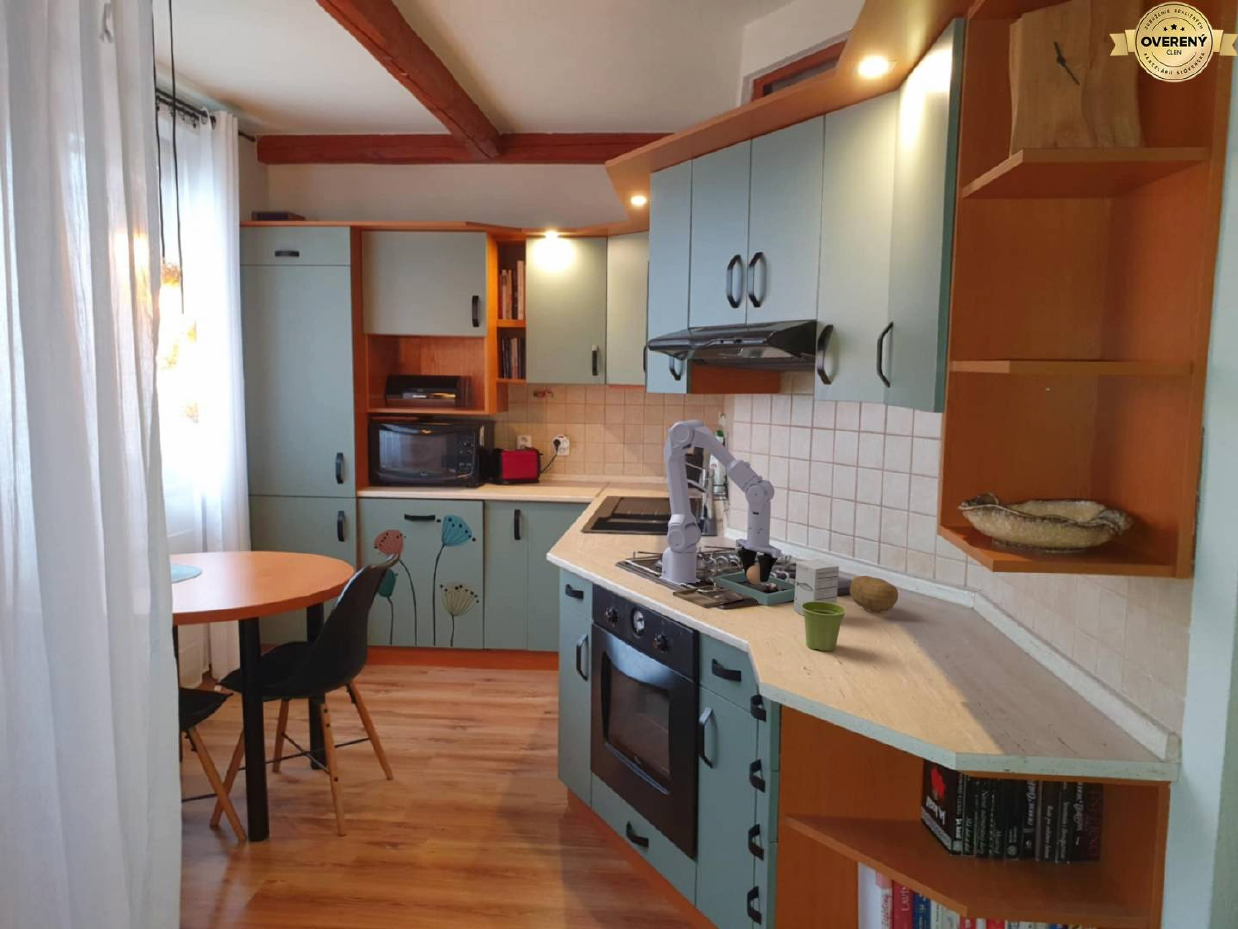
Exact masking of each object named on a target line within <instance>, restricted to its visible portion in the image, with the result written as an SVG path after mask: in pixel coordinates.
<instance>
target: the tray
mask: <svg viewBox="0 0 1238 929" xmlns="http://www.w3.org/2000/svg"><path fill="white" fill-rule="evenodd" d="M712 580H713V581H712V584H713V583H716V584H717V585H719V586H720V587H723V588H724V589H730V590H733V591H735V592H737V593H740V594H742V595H747V596H750V597H753V598H754V599H756V600H757V601H758V603H757V604H760V605H763V606H767V607H769V606H773V605H778V604H782V603H788V602H792V601H794V598H795V582H794V583H793V582H790V581H788V580H785V579H781V578H779V577H776V576H772V575H770V576H769V579H768V581H767V582H762V583H767V584H769V583H774V584H776V585H779V586H780V587H782V588H783V589H787V590H784V591H776V592H771V593H766V592H763V591H760V590H758V589H754V588H752V587H748V586H745V585H743V584H740V583H738V582H741V583H744V582H743V581H746V582H749V581H748V579H747V577H745V572H744V570H743V571H738V572H732V573H727V574H722V575H721V574H720V575H717V576H713V577H712Z"/></svg>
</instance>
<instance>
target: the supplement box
mask: <svg viewBox="0 0 1238 929" xmlns="http://www.w3.org/2000/svg"><path fill="white" fill-rule="evenodd" d="M795 563H796V568H795V582H794V584H795V598H794V600H793V611H794V612H795V613H798V614H799V615H802V616H804V615H803V610H802V608H801V604H803V603H805V602H809V601H823V602H830V603H835V604H837V600H838V587H839V586H838V585H839V571H840V566H838V565H836V564H833V563H830V562H828V561H824V560H821V559H818V558H816V559H808V560H802V561H801V560H800V561H796V562H795Z"/></svg>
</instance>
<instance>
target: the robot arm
mask: <svg viewBox="0 0 1238 929" xmlns="http://www.w3.org/2000/svg"><path fill="white" fill-rule="evenodd" d="M667 433H668V436H667V439H666V442H665V445H664V448H663V458H664V466H665V473H666V481H667V490H668V497H669V499H668V500H669V505H670V510H671V511H670V513H671V516H670V520H668V524H667V527H668V530H667V534H666V543H667V545H668V547H666V549H664V550H663V553H662V558H661V561H662V563H661V576H659V579H660V580H665V581H666V582H670V583H672V584H675V585H677V586H680V587H681V584H680V583H693V584H697V583H696V582H699V583H701V582H700V581H701V580H702V579H700V578H697V554H698V547H697V545H698V543H699V542H700V540H701V538H702V532H701V529H700V527H699V526H698V524H697V518H696V517H695V516H694V514H693V513H692V507H691V506H692V505H691V499H690V492H689V484H688V478H687V476H688V475H687V470H686V468H687V467H686V461H685V455H686V454H687V453H689V451H690V449H691V448H692V447H693V448H694V447H696V448H701V449H704V450H706V452H708V453H710V455H711V456H712V457H713V458H715V459H716V460H717V461H718V462H719V463H720V464H722V466H723V467H725V469H726V476H727V477H728V478H729V479H730V480H731V481H732V482H733V484H735V485H736V486H737V487H738V489H740V490H741V491H742V492H743V493H744V497H745V500H746V502H748V509H747V513H748V514H747V530H746V531H747V532H746V539H744V538H737V539H735V548H740V549H739V550H737V554H738V557H739V559H740V561H741V564H742V566H743V571H744V572H745V577H747V570H748V569H749V568H750V567H751V566H753V565H755V562H756V557H757V561H758V565H759V566H760V581H761V582H767V581H768V579H769V576H771V572H772V570H773V568H774V565H775V564H776V562H778V561H777V560H778V559H779V558H781V556H782V549H780V548H777V547H775V546H774V545H771V544H770V538H771V536H770V533H771V514H772V511H771V509H772V508H771V507H772V506H771V505H772V503H771V500H772V499H773V498H774V496H775V488H774V486H773V484H772V483H771V481H769V480H766V479H764V478H763V476H762V475H759V474H757V473H756V471H754V470H753V469H752V467H750V466H751V463H750V462H749V461H744V460H743V459H736V458H735V457H734V455H732V454H731V452H730V451H729V450H728V449H727V448H726V447H725V446H724V445H723V443H722V442H721V441H720V440H719V439H718V438H717V437H716V435H715V434H714V433H713V431H712V430H711V428H709V427H708V426H707V425H705V424H704V423H703V422H702V420H700V419H697V418H696V419H690V420H682V421H681V420H680V421H677V422H674V424H673V425H672V426H671V427H670V428H668V431H667ZM758 553H761V554H760V555H758Z"/></svg>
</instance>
